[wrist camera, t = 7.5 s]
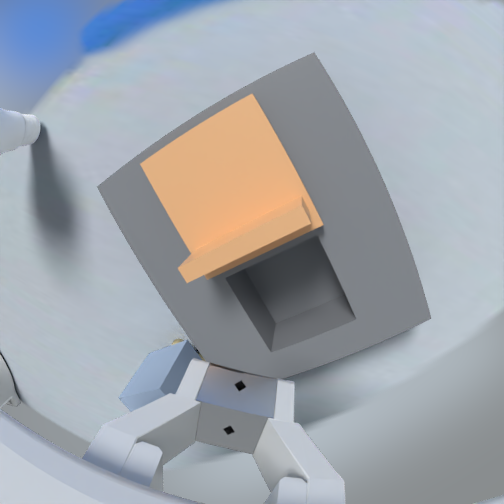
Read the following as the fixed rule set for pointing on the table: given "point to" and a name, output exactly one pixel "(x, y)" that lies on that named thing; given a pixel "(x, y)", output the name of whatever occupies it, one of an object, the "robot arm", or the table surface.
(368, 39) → the table surface
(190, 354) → the plug
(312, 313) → the socket block
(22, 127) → the lightbulb
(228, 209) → the panel
